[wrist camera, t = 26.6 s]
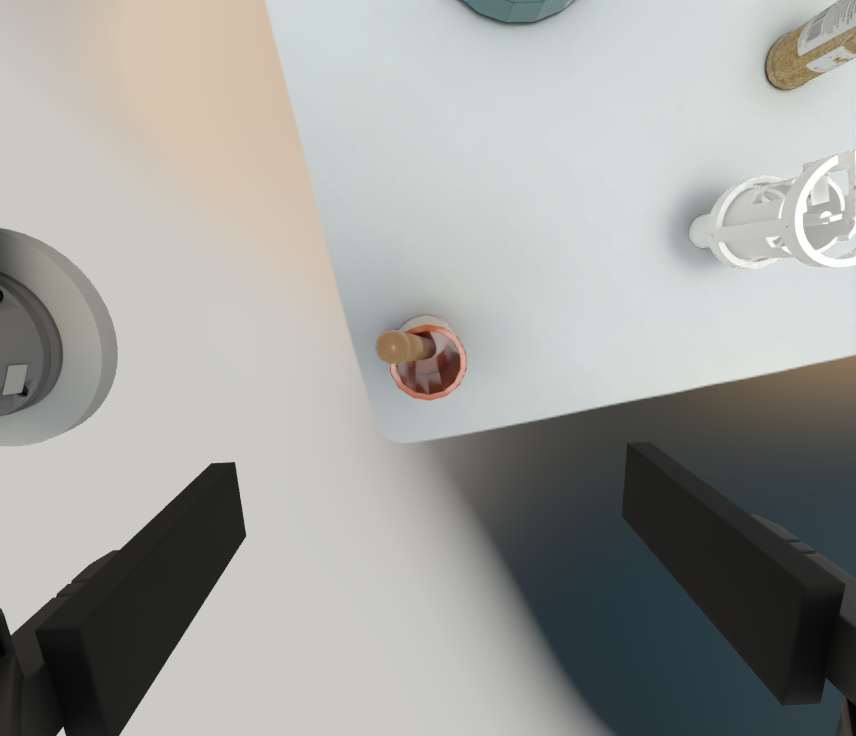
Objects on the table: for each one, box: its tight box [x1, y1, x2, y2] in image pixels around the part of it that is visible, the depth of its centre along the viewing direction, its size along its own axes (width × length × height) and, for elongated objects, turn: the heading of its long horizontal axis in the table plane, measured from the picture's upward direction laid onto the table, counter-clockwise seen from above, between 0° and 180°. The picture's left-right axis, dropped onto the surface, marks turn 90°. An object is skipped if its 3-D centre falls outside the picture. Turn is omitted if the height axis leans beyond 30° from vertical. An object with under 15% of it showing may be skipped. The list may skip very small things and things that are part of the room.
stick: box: [376, 330, 437, 364], centre depth 33 cm, size 2×2×18 cm
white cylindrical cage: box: [689, 149, 856, 268], centre depth 33 cm, size 7×7×15 cm
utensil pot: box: [390, 315, 466, 400], centre depth 38 cm, size 6×6×8 cm
